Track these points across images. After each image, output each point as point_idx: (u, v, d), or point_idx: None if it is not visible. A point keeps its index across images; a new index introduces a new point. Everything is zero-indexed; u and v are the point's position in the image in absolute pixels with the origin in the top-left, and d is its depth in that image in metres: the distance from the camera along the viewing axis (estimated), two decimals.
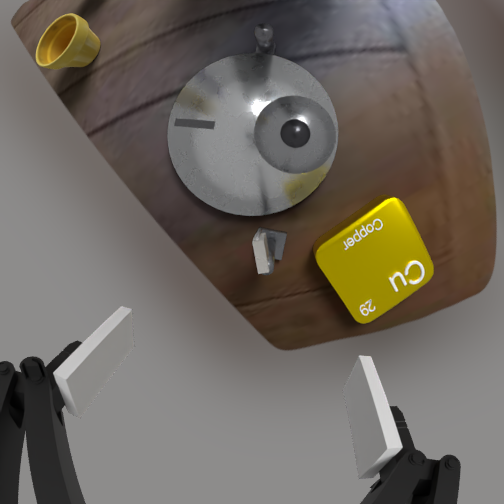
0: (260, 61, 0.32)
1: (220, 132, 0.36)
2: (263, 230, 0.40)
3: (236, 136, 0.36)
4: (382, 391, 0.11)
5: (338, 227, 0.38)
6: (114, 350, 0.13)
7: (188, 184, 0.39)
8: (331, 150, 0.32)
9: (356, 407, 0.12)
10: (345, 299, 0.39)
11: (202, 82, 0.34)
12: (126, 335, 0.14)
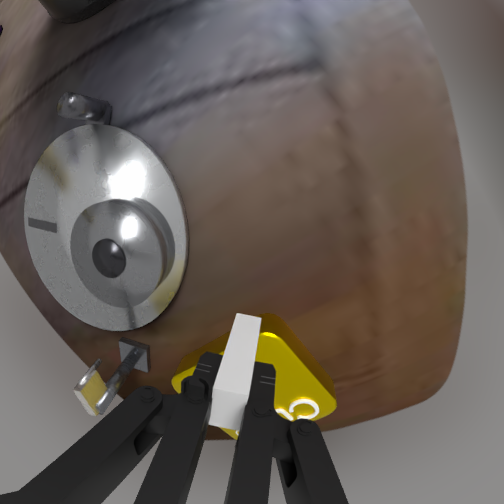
0: (89, 137, 0.23)
1: (62, 237, 0.27)
2: (123, 343, 0.32)
3: None
4: (256, 346, 0.14)
5: (200, 354, 0.30)
6: None
7: (50, 290, 0.30)
8: (155, 280, 0.23)
9: None
10: None
11: (42, 174, 0.25)
12: None
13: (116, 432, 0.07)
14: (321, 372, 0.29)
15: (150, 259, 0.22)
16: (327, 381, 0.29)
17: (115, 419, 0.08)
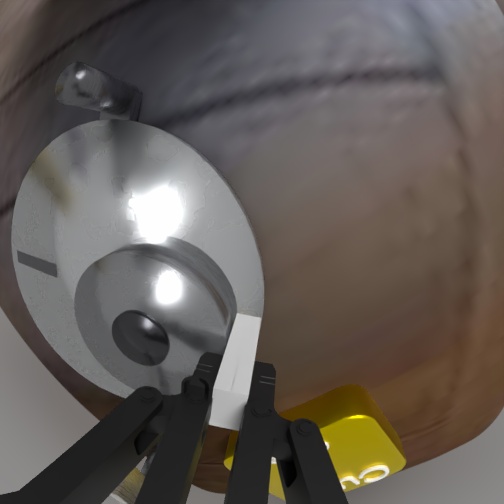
0: (105, 139, 0.16)
1: (65, 284, 0.19)
2: None
3: None
4: (256, 346, 0.14)
5: None
6: None
7: (52, 345, 0.22)
8: None
9: None
10: (271, 492, 0.22)
11: (33, 191, 0.17)
12: None
13: (116, 432, 0.07)
14: (394, 435, 0.21)
15: (212, 346, 0.14)
16: (398, 442, 0.21)
17: (115, 419, 0.08)
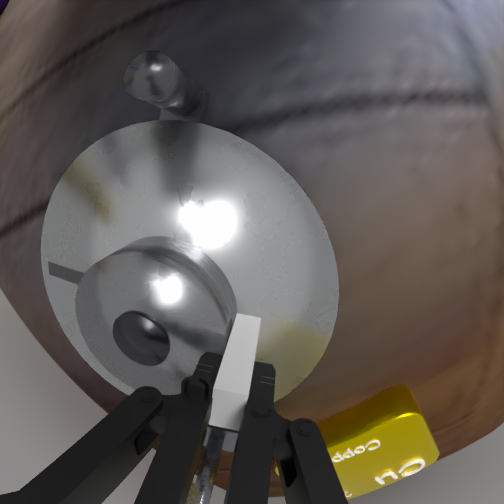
0: (169, 142, 0.15)
1: None
2: None
3: None
4: (256, 346, 0.14)
5: None
6: None
7: (89, 362, 0.22)
8: None
9: None
10: None
11: (71, 197, 0.17)
12: None
13: (116, 432, 0.07)
14: None
15: (212, 345, 0.14)
16: None
17: (115, 419, 0.08)
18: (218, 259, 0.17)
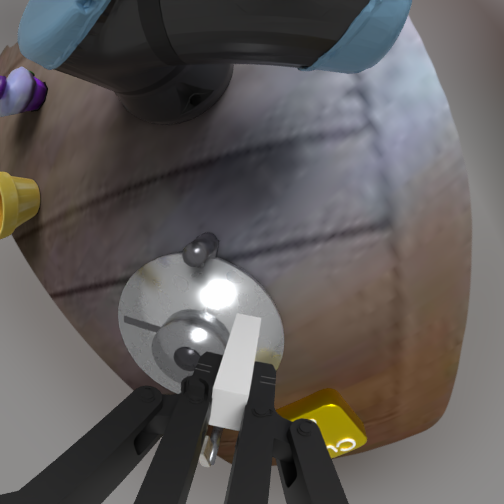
0: (200, 266, 0.34)
1: None
2: None
3: None
4: (256, 346, 0.14)
5: None
6: None
7: (146, 371, 0.39)
8: None
9: None
10: None
11: (142, 284, 0.35)
12: None
13: (116, 432, 0.07)
14: (358, 420, 0.38)
15: None
16: (361, 425, 0.38)
17: (115, 419, 0.08)
18: (225, 321, 0.35)
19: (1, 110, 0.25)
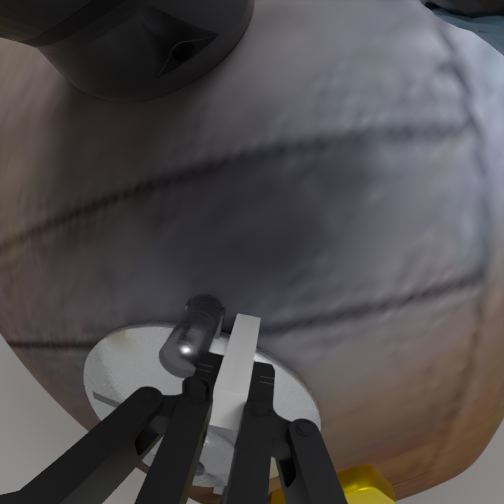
0: None
1: None
2: None
3: None
4: None
5: None
6: None
7: None
8: None
9: None
10: None
11: (109, 361, 0.21)
12: None
13: (117, 432, 0.07)
14: (389, 487, 0.25)
15: None
16: (392, 491, 0.25)
17: (116, 419, 0.08)
18: None
19: None
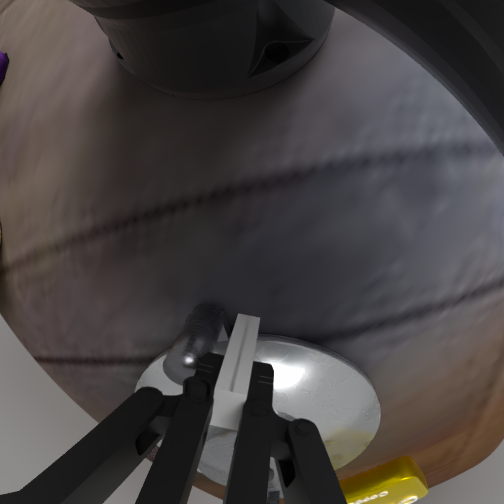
0: None
1: None
2: None
3: None
4: (255, 346, 0.14)
5: (343, 489, 0.25)
6: None
7: None
8: None
9: None
10: None
11: None
12: None
13: (117, 433, 0.07)
14: (423, 476, 0.25)
15: None
16: (424, 480, 0.25)
17: (116, 420, 0.08)
18: (285, 409, 0.21)
19: None
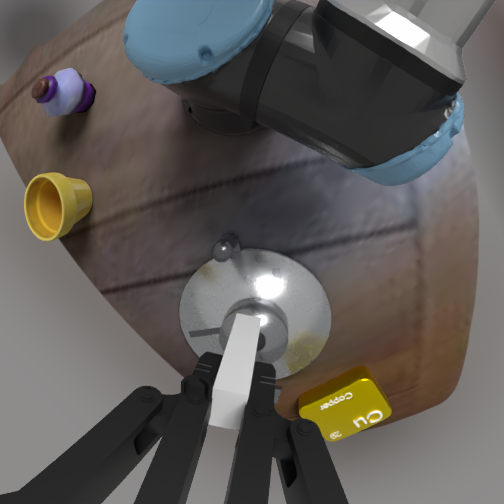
0: (232, 262, 0.40)
1: None
2: None
3: None
4: (256, 346, 0.14)
5: (319, 392, 0.46)
6: None
7: None
8: (287, 340, 0.38)
9: None
10: None
11: (193, 298, 0.42)
12: None
13: (116, 432, 0.07)
14: (384, 394, 0.45)
15: (280, 330, 0.38)
16: (386, 399, 0.45)
17: (115, 419, 0.08)
18: (271, 298, 0.41)
19: (49, 110, 0.30)
